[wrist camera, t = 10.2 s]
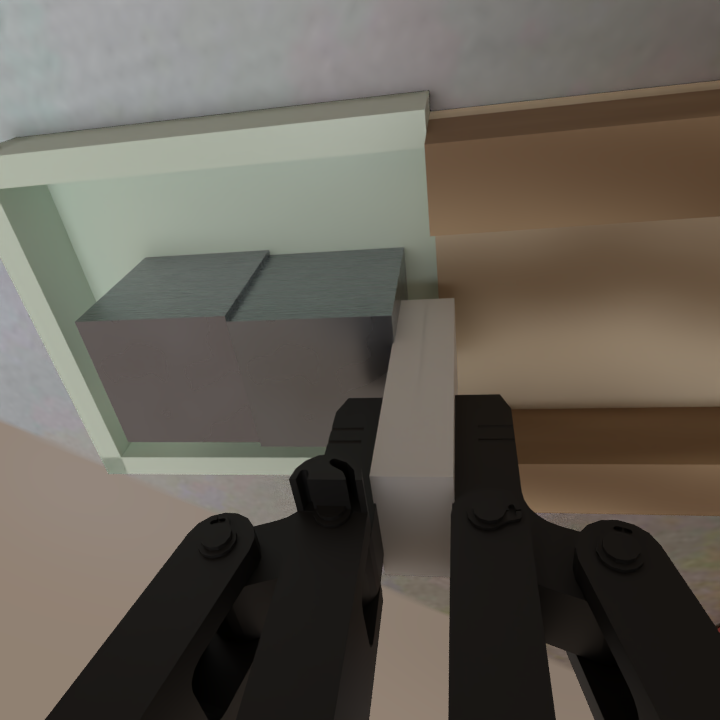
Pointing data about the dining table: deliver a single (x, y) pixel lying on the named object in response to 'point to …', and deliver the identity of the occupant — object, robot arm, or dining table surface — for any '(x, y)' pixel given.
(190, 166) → the tray
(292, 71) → the dining table surface
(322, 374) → the chip
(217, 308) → the chip
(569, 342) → the slot board
